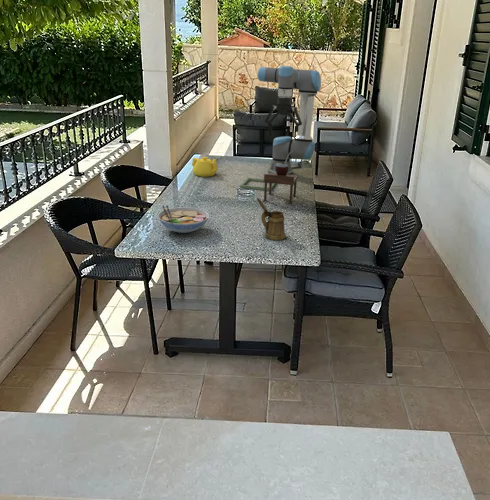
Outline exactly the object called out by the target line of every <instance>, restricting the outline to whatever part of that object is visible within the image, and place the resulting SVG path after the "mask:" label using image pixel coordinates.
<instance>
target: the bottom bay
mask: <svg viewBox="0 0 490 500" xmlns="http://www.w3.org/2000/svg"><path fill="white" fill-rule="evenodd" d="M249 181H250V182H259V183H265V182H264V178H256V177H247V178H246V179H244V181H243V182H242V183H241V184H240V188H241V189H250V190H259V191H264V188H265V186H255V185H248V184H247V183H248V182H249ZM246 184H247V185H246ZM275 185H276V184H275V183H272V189H273V188H274V187H275ZM267 192H269V187H267Z"/></svg>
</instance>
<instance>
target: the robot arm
mask: <svg viewBox="0 0 490 500" xmlns="http://www.w3.org/2000/svg"><path fill="white" fill-rule="evenodd" d="M321 77H322V76H321V74H320V72H319V71H318V70H313V69H299V68H294V66H291V65H280V66H279V67H267V66H261V67H259V68H258V71H257V80H258V81H259V82H263V83H274V84H277V96H278V97H277V101H276V103H277V105H274V104H272V105H271V107H270V111H269V112H268V114H267V116H266V118H265V120H264V123H266V124H267V131H269V135H268V136H269V137H272V136H273V121H274V120H275V119H276V118H277V117H278V116H279V115H280V116H289V118H290V120H291V121H292V122H293V123H294V129H293V130H294V131H293V139H292V136H289V135H287V136H286V135H285V136H277V137H275V138H274V139H273V140H272V141H273V142H272V158H271V162H270V166H269V169H268V174H269V173H276V170H275V167H276V164H277V163H278V162H285V161H286V159H287V156H288V154H289V153H290V152H291V151H293V152H291V153H290V154H289V156H288V159H287V161H286V163H287V164H288V172H287V174H289V175H293V169H299V168H301V167H302V165H301V164H302V163H307V164H309V163H310V161H308V160H311V158H312V157H313V155H314V153H315V147H316V143H315V142H314V139H313V137H312V136H311V135H312V126H313V125H312V123H313V113H314V106H315V105H314V104H315V97H316V96H317V95H318V92H319V91H321V88H322V87H321V86H322V78H321ZM293 90H298V94H299V95H300V96H299V106H298V107H299V108H298V107H297V106H292V102H293V101H292V99H293V98H292V96H293ZM275 110H276V111H277V112H276V113H275V114H274V115H273V116H272V114H273V112H274V111H275ZM292 112H294V115H295V116H294V115H293V114H292ZM271 116H272V117H271ZM295 117H296V118H295ZM291 159H294V160H295V159H296V160H297V159H298V160H301V161H299V162H297V165H298V166H292V163H291Z"/></svg>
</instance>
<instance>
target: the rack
mask: <svg viewBox="0 0 490 500" xmlns="http://www.w3.org/2000/svg"><path fill="white" fill-rule="evenodd" d="M263 179H264V182H263V183H264V187H265V188H264V190H263V201H264V202H267V198H268V196H267V195H272V191H273V190H272V189H273V188H272V183H275V185H276V184H277V185H287V186H289V187H290V189H289V202H288V204H289V205H293V198H294V197H297V194H296V193H297V182H298V179H299V176H298V175H297V174H290V175H289V174H286V176H282V175H277V173H269V172H268V173H264V174H263ZM268 186H269V187H268ZM267 188H269V191H268V190H267Z"/></svg>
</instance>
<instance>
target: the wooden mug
mask: <svg viewBox="0 0 490 500" xmlns="http://www.w3.org/2000/svg"><path fill="white" fill-rule="evenodd" d="M256 200H257V203H258V204H259V206H260V207H261V209H262V210H263V212H262V213H261V215H260V220H261V222H262V224H263V226H264V228H265V233H264V236H265V238H266V239H268V240H271V241H281V240H284V239H285V238H286V232H285V231H286V230H285V216H284V212H283V211H279V210H274V211H273V210H272V211H271V210H268V209H267V206H266V205H265V204H264V202H263V201H262V199H260V198H258V197H257V198H256ZM266 218H267V221H266Z"/></svg>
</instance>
